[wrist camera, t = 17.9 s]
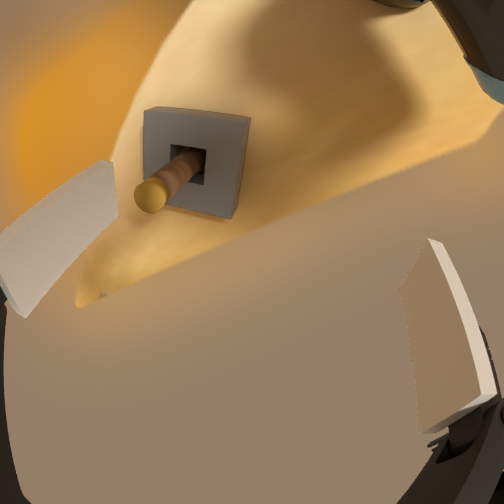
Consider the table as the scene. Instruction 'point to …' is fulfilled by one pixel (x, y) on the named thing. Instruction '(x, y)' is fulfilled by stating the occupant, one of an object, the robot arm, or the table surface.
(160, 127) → the socket plate
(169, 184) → the yellow capped peg
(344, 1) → the table surface
